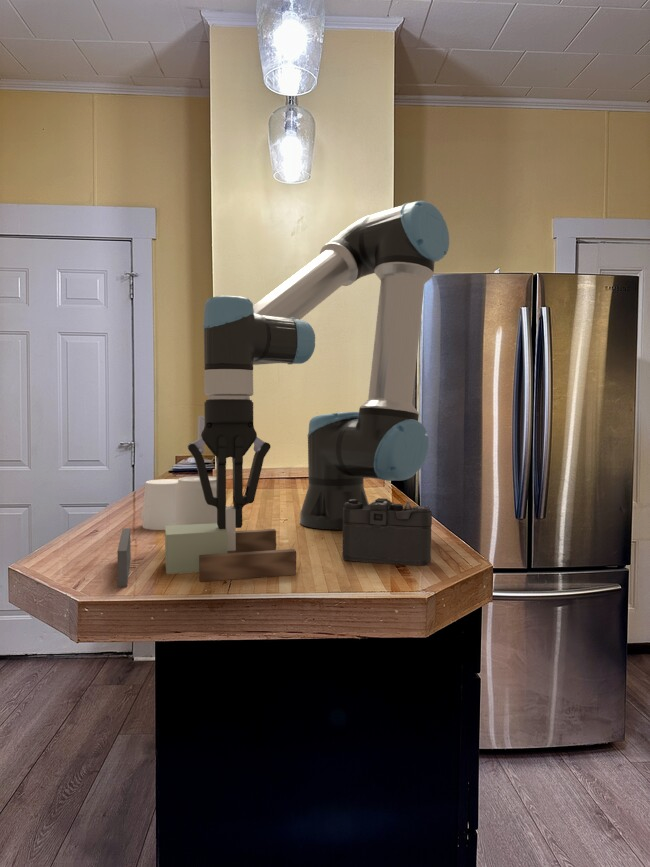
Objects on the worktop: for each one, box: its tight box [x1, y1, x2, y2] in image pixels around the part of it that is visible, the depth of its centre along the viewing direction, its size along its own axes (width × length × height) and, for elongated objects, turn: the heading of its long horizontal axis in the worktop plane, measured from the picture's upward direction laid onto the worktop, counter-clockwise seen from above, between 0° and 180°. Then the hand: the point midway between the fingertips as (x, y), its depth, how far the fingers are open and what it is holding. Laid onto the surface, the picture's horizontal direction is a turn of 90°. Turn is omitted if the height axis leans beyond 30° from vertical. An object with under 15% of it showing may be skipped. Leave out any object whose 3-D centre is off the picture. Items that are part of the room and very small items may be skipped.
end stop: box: [116, 527, 132, 588], centre depth 94 cm, size 1×16×5 cm, turn 15°
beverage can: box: [175, 475, 217, 525], centre depth 111 cm, size 8×8×12 cm
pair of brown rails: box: [198, 528, 297, 583], centre depth 99 cm, size 14×17×4 cm
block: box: [164, 523, 227, 575], centre depth 97 cm, size 9×7×6 cm
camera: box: [341, 497, 433, 567], centre depth 103 cm, size 14×11×10 cm
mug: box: [140, 478, 179, 531], centre depth 128 cm, size 12×9×8 cm
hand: (229, 548), depth 98 cm, fingers closed
